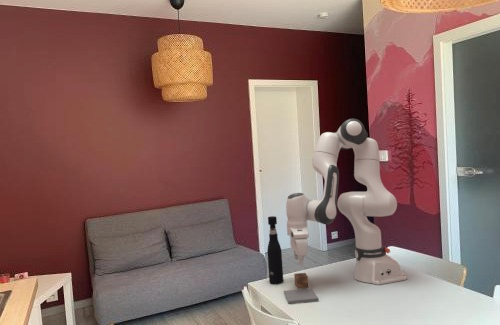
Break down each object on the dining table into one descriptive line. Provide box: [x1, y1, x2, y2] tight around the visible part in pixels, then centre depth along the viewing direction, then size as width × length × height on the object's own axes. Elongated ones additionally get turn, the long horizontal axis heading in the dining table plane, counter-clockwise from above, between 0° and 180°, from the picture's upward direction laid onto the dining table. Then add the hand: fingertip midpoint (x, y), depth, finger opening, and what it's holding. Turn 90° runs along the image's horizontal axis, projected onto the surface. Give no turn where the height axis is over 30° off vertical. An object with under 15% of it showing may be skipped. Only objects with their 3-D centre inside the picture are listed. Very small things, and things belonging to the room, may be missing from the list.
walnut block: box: [293, 272, 310, 290], centre depth 166 cm, size 5×5×5 cm
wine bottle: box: [267, 215, 284, 285], centre depth 173 cm, size 6×6×30 cm
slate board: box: [283, 287, 320, 305], centre depth 154 cm, size 12×11×1 cm
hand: (298, 262), depth 166 cm, fingers open, 8 cm apart
